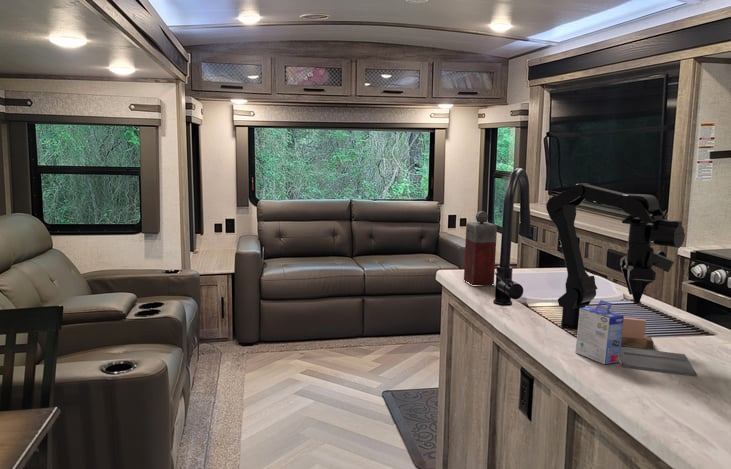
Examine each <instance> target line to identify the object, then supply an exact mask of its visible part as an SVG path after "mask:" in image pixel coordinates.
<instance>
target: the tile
mask: <svg viewBox="0 0 731 469" xmlns="http://www.w3.org/2000/svg"><path fill="white" fill-rule="evenodd" d="M646 324H647V320H646V319H643V318H642V319H641V318H634V317H633V318H632V317H624V319H623V329H622V337H627V338H636V339H644V337H645V336H646V334H645V333H646Z"/></svg>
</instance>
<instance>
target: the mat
mask: <svg viewBox="0 0 731 469" xmlns="http://www.w3.org/2000/svg"><path fill="white" fill-rule="evenodd" d="M620 361H621V365H622V367H623V368H629V369H635V370H636V369H637V370H643V371H645V370H646V371H652V372H653V371H654V372H659V373H668V374H677V375H685V376H686V375H687V376H693V377H694V376H695V377H697V375H698V374H697V371H696V370H695V369H694V366H693V365H692V364H691V362H690V360H689V359H688V357H687V355H686V354H685V353H678V352H677V353H676V352H670V351H663V350H662V351H661V350H653V349H645V348H636V347H627V346H621V350H620Z"/></svg>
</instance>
